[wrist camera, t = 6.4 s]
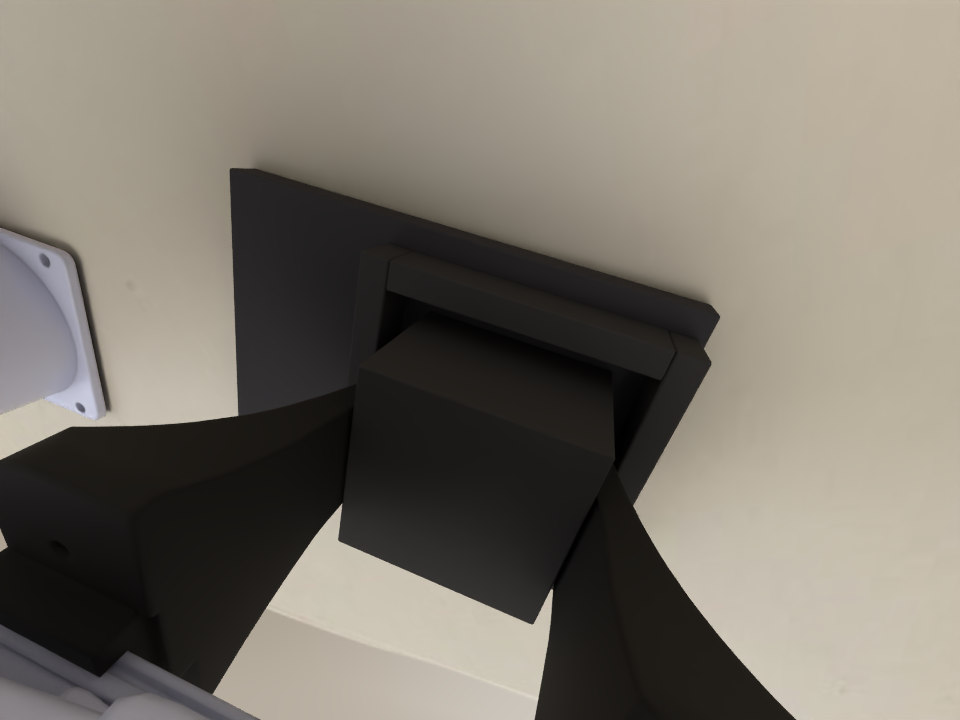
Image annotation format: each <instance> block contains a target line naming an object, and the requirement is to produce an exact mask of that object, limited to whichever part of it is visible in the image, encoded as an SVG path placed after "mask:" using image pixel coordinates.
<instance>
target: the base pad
mask: <svg viewBox="0 0 960 720" xmlns="http://www.w3.org/2000/svg"><path fill="white" fill-rule="evenodd" d="M230 193H231V221H232V249H233V277H234V305H235V333H236V361H237V389H238V416H241V415H247V414H252V413H257V412H262V411H267V410H271V409H276V408H280V407H284V406H288V405H291V404H295V403H298V402H302V401H305V400H308V399H312V398H315V397H319V396H322V395H325V394H328V393H331V392H334V391H337V390H340V389H343V388H346V387H349V386H352V385H354V384H356V383H357V374H358V367H359V365H360V364H361V363H362V362H364V361H365V360H366V359H368V358H369V357H370V356H372V355H373V354H374V353H376V352H377V351H378V350H380V349H381V348H382V347H384V346H385V345H386V344H388V343H389V342H390V341H392V340H393V339H394V338H396V337H397V336H398V335H400V334H401V333H402V332H404V331H405V330H406V329H408V328H409V327H410V326H411V325H413V324H414V323H415V322H417V321H418V320H419V319H421V318H422V317H423V316H425V315H426V314H427V313H429V312H434V313H437V314H440V315H443V316H446V317H449V318H452V319H455V320H458V321H461V322H464V323H467V324H470V325H473V326H476V327H479V328H482V329H485V330H488V331H491V332H494V333H497V334H500V335H503V336H506V337H509V338H512V339H515V340H518V341H521V342H524V343H527V344H530V345H533V346H536V347H539V348H542V349H545V350H548V351H551V352H554V353H557V354H560V355H563V356H566V357H569V358H572V359H575V360H578V361H581V362H585V363H588V364H591V365H594V366H597V367H600V368H603V369H606V370H609V371H611V372H612V385H613V416H614V446H615V460H614V462H613V464H614V466H615V468H616V470H617V473H618V475H619V477H620V479H621V482H622V484H623V486H624V488H625V490H626V492H627V495H628V497H629V499H630V501H631V503H632V505H634V503H635V501H636V500H637V498H638V496H639V494H640V492H641V490H642V489H643V487H644V485H645V483H646V481H647V480H648V478H649V476H650V474H651V472H652V471H653V469H654V467H655V465H656V463H657V462H658V460H659V458H660V456H661V454H662V453H663V451H664V449H665V447H666V445H667V444H668V442H669V440H670V438H671V436H672V435H673V433H674V431H675V429H676V427H677V426H678V424H679V422H680V420H681V418H682V417H683V415H684V413H685V411H686V409H687V408H688V406H689V404H690V402H691V400H692V399H693V397H694V395H695V393H696V391H697V390H698V388H699V386H700V384H701V382H702V381H703V379H704V377H705V375H706V373H707V372H708V370H709V368H710V366H711V360H710V359H709V357H708V355H707V354H706V352H705V350H704V347H705V345H706V343H707V341H708V339H709V338H710V336H711V334H712V332H713V330H714V328H715V326H716V324H717V323H718V321H719V319H720V315H719V314H718V313H717V312H716V311H715V309H714V308H713V307H712V306H711V305H708V304H705V303H702V302H698V301H695V300H692V299H688V298H685V297H682V296H678V295H675V294H672V293H668V292H665V291H662V290H658V289H655V288H652V287H648V286H645V285H642V284H638V283H635V282H631V281H628V280H625V279H621V278H618V277H615V276H611V275H608V274H605V273H601V272H598V271H595V270H591V269H588V268H585V267H581V266H578V265H575V264H571V263H568V262H565V261H561V260H558V259H555V258H551V257H548V256H544V255H541V254H538V253H534V252H531V251H528V250H524V249H521V248H518V247H514V246H511V245H508V244H504V243H501V242H498V241H494V240H491V239H488V238H484V237H481V236H478V235H474V234H471V233H468V232H464V231H461V230H457V229H454V228H451V227H447V226H444V225H441V224H437V223H434V222H431V221H427V220H424V219H421V218H417V217H414V216H411V215H407V214H404V213H401V212H397V211H394V210H391V209H387V208H384V207H381V206H377V205H374V204H370V203H367V202H364V201H360V200H357V199H354V198H350V197H347V196H344V195H340V194H337V193H334V192H330V191H327V190H324V189H320V188H317V187H314V186H310V185H307V184H304V183H300V182H297V181H294V180H290V179H287V178H283V177H280V176H277V175H273V174H270V173H267V172H263V171H260V170H257V169H243V168H231V169H230ZM553 586H554V584H553ZM553 586H552V588H551V589H553Z"/></svg>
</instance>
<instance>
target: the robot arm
mask: <svg viewBox="0 0 960 720" xmlns="http://www.w3.org/2000/svg"><path fill="white" fill-rule="evenodd" d="M355 392H356V384H354V385H352V386H349V387H346V388H343V389H340V390H337V391H334V392H331V393H328V394H325V395H322V396H319V397H315V398H312V399H308V400H305V401H302V402H298V403H295V404H291V405H288V406H284V407H280V408H276V409H271V410H267V411H262V412H257V413H252V414H247V415H241V416H235V417H228V418H221V419H213V420H206V421H199V422H189V423H178V424H164V425H149V426H110V427H70V428H67V429H65V430H63V431H61V432H59V433H57V434H55V435H52V436H50V437H48V438H46V439H44V440H42V441H40V442H38V443H35V444H33V445H31V446H29V447H27V448H25V449H23V450H21V451H18V452H16V453H14V454H12V455H10V456H8V457H6V458H4V459H1V460H0V529H1V531H2V534H3V536H4V538H5V541H6V543H7V546H8V547H7V548H6V549H4V550H3V551H1V552H0V720H260V719H258V718H256V717H254V716H252V715H250V714H248V713H246V712H244V711H243V710H241V709H239V708H237V707H235V706H233V705H231V704H229V703H227V702H225V701H223V700H221V699H219V698H217V697H216V696H214V695H212V694H213V693H214V691H215V689H216V688H217V686H218V684H219V683H220V681H221V679H222V678H223V676H224V674H225V673H226V671H227V669H228V668H229V666H230V664H231V663H232V661H233V660H234V658H235V656H236V655H237V653H238V651H239V650H240V648H241V646H242V645H243V643H244V642H245V640H246V638H247V637H248V635H249V634H250V632H251V630H252V629H253V628H254V626H255V624H256V623H257V621H258V620H259V618H260V617H261V615H262V613H263V612H264V610H265V609H266V607H267V606H268V604H269V603H270V601H271V600H272V598H273V597H274V595H275V594H276V592H277V591H278V589H279V588H280V586H281V585H282V583H283V582H284V580H285V579H286V577H287V576H288V574H289V573H290V571H291V570H292V568H293V567H294V565H295V564H296V562H297V561H298V560H299V558H300V557H301V555H302V554H303V552H304V551H305V550H306V548H307V547H308V545H309V544H310V542H311V541H312V540H313V538H314V537H315V535H316V534H317V533H318V532H319V530H320V529H321V528H322V527H323V525H324V524H325V523H326V522H327V520H328V519H329V518H330V517H331V516H332V515H333V513H334V512H335V511H336V510H337V509H338V508H339V506H340V505H341V504H342V503H343V495H344V486H345V478H346V469H347V461H348V452H349V443H350V435H351V426H352V417H353V409H354V400H355ZM40 399H45V400H47V401H50V402H52V403H54V404H57V405H59V406H61V407H64V408H66V409H68V410H71V411H73V412H75V413H78V414H80V415H82V416H85V417H87V418H89V419H92V420H98V419H100V418H102V417H104V416H105V415H106V407H105V402H104V397H103V392H102V388H101V383H100V378H99V373H98V369H97V364H96V359H95V354H94V349H93V345H92V340H91V335H90V330H89V326H88V321H87V316H86V311H85V307H84V302H83V297H82V292H81V288H80V283H79V278H78V273H77V268H76V264H75V262H74V260H73V258H72V257H71V256H70V255H69V254H68V253H67V252H65V251H63V250H61V249H58V248H56V247H53V246H50V245H47V244H44V243H42V242H39V241H36V240H33V239H30V238H28V237H25V236H22V235H19V234H17V233H14V232H11V231H8V230H5V229H3V228H0V415H2V414H4V413H7V412H9V411H12V410H14V409H17V408H19V407H22V406H25V405H27V404H30V403H32V402H35V401H37V400H40ZM535 720H796V719H795V718H794V717H793V716H792V715H791V714H790V713H789V712H788V711H787V710H786V709H785V708H784V707H783V706H782V705H781V704H780V703H779V702H778V701H777V700H776V699H775V698H774V697H773V696H772V695H771V694H770V693H769V692H768V691H767V690H766V689H765V687H764V686H763V685H762V684H761V683H760V682H759V681H758V680H757V679H756V678H755V676H754V675H753V674H752V673H751V672H750V671H749V670H748V669H747V668H746V666H745V665H744V664H743V663H742V662H741V661H740V660H739V659H738V658H737V656H736V655H735V654H734V653H733V652H732V651H731V649H730V648H729V647H728V646H727V645H726V644H725V642H724V641H723V640H722V639H721V638H720V636H719V635H718V634H717V633H716V631H715V630H714V629H713V628H712V626H711V625H710V624H709V623H708V621H707V620H706V619H705V618H704V616H703V615H702V614H701V613H700V611H699V610H698V609H697V608H696V606H695V605H694V603H693V602H692V601H691V599H690V598H689V597H688V595H687V594H686V593H685V591H684V590H683V588H682V587H681V585H680V584H679V583H678V581H677V580H676V578H675V577H674V575H673V574H672V572H671V571H670V570H669V568H668V567H667V565H666V563H665V562H664V560H663V559H662V557H661V556H660V554H659V552H658V551H657V549H656V547H655V546H654V544H653V542H652V540H651V539H650V537H649V535H648V534H647V532H646V530H645V528H644V526H643V525H642V523H641V521H640V519H639V517H638V515H637V513H636V511H635V509H634V507H633V505H632V503H631V501H630V499H629V497H628V495H627V492H626V490H625V488H624V486H623V484H622V482H621V479H620V477H619V475H618V473H617V470H616V468H615V466H614V464H612V466H611V468H610V470H609V472H608V474H607V476H606V478H605V480H604V482H603V484H602V486H601V488H600V490H599V492H598V494H597V496H596V498H595V500H594V503H593V505H592V507H591V509H590V511H589V513H588V515H587V517H586V519H585V521H584V523H583V525H582V527H581V529H580V531H579V533H578V535H577V537H576V539H575V541H574V543H573V545H572V547H571V549H570V551H569V553H568V555H567V557H566V559H565V561H564V563H563V565H562V567H561V569H560V571H559V573H558V576H557V578H556V580H555V582H554V586H553V600H552V614H551V625H550V633H549V641H548V647H547V653H546V659H545V665H544V671H543V677H542V682H541V688H540V693H539V699H538V704H537V710H536V715H535Z"/></svg>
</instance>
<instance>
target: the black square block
mask: <svg viewBox="0 0 960 720" xmlns="http://www.w3.org/2000/svg"><path fill="white" fill-rule="evenodd" d="M614 460H615V446H614V416H613V385H612V372H611V371H609V370H606V369H603V368H600V367H597V366H594V365H591V364H588V363H585V362H581V361H578V360H575V359H572V358H569V357H566V356H563V355H560V354H557V353H554V352H551V351H548V350H545V349H542V348H539V347H536V346H533V345H530V344H527V343H524V342H521V341H518V340H515V339H512V338H509V337H506V336H503V335H500V334H497V333H494V332H491V331H488V330H485V329H482V328H479V327H476V326H473V325H470V324H467V323H464V322H461V321H458V320H455V319H452V318H449V317H446V316H443V315H440V314H437V313H434V312H429V313H427V314H426V315H425V316H423V317H422V318H421V319H419V320H418V321H417V322H415V323H414V324H413V325H411V326H410V327H409V328H408V329H406V330H405V331H404V332H402V333H401V334H400V335H398V336H397V337H396V338H394V339H393V340H392V341H390V342H389V343H388V344H386V345H385V346H384V347H382V348H381V349H380V350H378V351H377V352H376V353H374V354H373V355H372V356H370V357H369V358H368V359H366V360H365V361H364V362H362V363H361V364H360V365H359V367H358V374H357V383H356V392H355V400H354V409H353V417H352V426H351V435H350V443H349V452H348V461H347V469H346V478H345V486H344V495H343V504H342V512H341V521H340V529H339V538H338V540H339V541H340V542H342V543H344V544H347V545H349V546H351V547H354V548H356V549H358V550H361V551H363V552H365V553H368V554H370V555H372V556H374V557H377V558H379V559H381V560H384V561H386V562H388V563H391V564H393V565H395V566H398V567H400V568H402V569H405V570H407V571H409V572H411V573H414V574H416V575H418V576H421V577H423V578H425V579H428V580H430V581H432V582H435V583H437V584H439V585H442V586H444V587H446V588H448V589H451V590H453V591H455V592H458V593H460V594H462V595H465V596H467V597H469V598H472V599H474V600H476V601H478V602H481V603H483V604H485V605H488V606H490V607H492V608H495V609H497V610H499V611H502V612H504V613H506V614H509V615H511V616H513V617H515V618H518V619H520V620H522V621H525V622H527V623H529V624H534V622H535V620H536V618H537V616H538V614H539V612H540V610H541V608H542V606H543V604H544V602H545V600H546V598H547V596H548V594H549V592H550V590H551V588H552V586H553V584H554V582H555V580H556V578H557V576H558V573H559V571H560V569H561V567H562V565H563V563H564V561H565V559H566V557H567V555H568V553H569V551H570V549H571V547H572V545H573V543H574V541H575V539H576V537H577V535H578V533H579V531H580V529H581V527H582V525H583V523H584V521H585V519H586V517H587V515H588V513H589V511H590V509H591V507H592V505H593V503H594V500H595V498H596V496H597V494H598V492H599V490H600V488H601V486H602V484H603V482H604V480H605V478H606V476H607V474H608V472H609V470H610V468H611V466H612V464H613V462H614Z"/></svg>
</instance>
